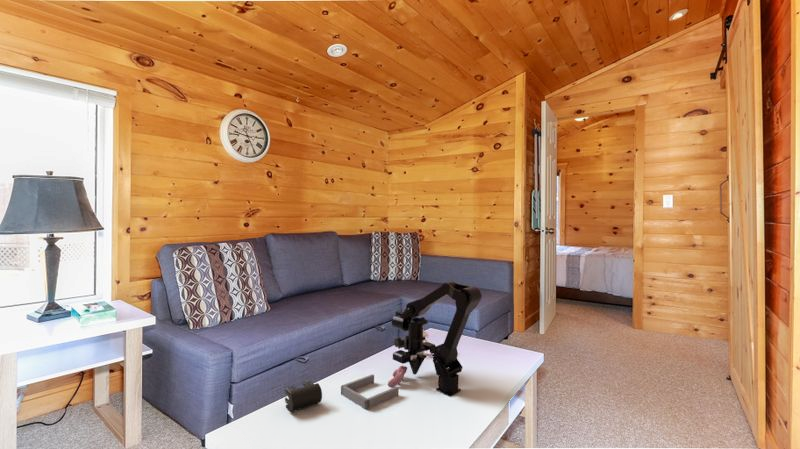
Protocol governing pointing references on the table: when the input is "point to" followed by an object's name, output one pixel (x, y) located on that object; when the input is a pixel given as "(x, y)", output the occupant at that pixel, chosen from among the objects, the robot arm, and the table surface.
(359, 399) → the sorting bay
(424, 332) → the flower shoulder figurine
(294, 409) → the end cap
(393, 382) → the pink curved piece
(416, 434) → the table surface
